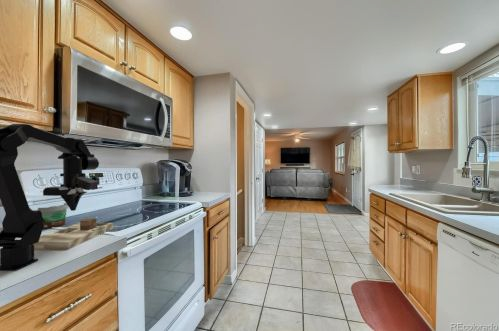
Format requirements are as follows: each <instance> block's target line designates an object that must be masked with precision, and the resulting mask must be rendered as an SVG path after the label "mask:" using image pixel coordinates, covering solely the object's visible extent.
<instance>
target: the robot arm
mask: <svg viewBox="0 0 499 331" xmlns="http://www.w3.org/2000/svg"><path fill="white" fill-rule="evenodd" d="M27 140H29V141H32V142H36V143H39V144H43V145H46V146H50V147H53V148H55V150H56V151H58V152H60V153H62V154H60V155H58V156H57V159H59V160H62V168H63V169H62V171H63V173H60V175H59V176H60V177H63V178H62V180H63V181H62V182H63V183H61V184H59V186H47V187H45V188H43V191H42V195H43V196H45V197H46V196H51V197H53V196H54V197H55V196H56V197H57V196H58V197H59V196H60V197H61V199H62V200H63V201H64V203H66V204H67V205H68V209H70V211H76V209H77V207H78V205H79V202H80V200H81V198H82V196H84V195H85V194H88V191H91V190H92V191H94V190H98V186H100V177H98V176H91V177H87V176H86V175H87V174H86V173H85V172H83V171H93V170H96V169H97V168H99V167H100V166H99V165H100V161H99V160H98V158H96V157H95V154H93V153H91V152H90V150H89V148H88V147H87V145H86V143H85V141H84V140H83V139H82V138H77V137H66V136H62V135H59V134H56V133H52V132H50V131H47V130H44V129H41V128H38V127H35V126H33V125H32V124H28V123H12V124H9V125H7V126H4V127H3V128H0V202H1V205H2V207H3V210H4V213H5V215H4V217H3V219H2V222H1V225H2V230H1V231H0V271H17V270H20V269H22V268H24V267H26V266H28V265H31V264H33V263H34V262H37V261H39V258H35V249H34V245H33V244H35V243H37V242H39V239H40V236H42V232H43V230H44V229H43V228H44V223H43V222H45V220H44V219H43V218H42V213H41V211H40V210H35V209H34V210H33V209H32V208H30V206H29V202H28V200H27V198H26V194H25V191H24V189H23V186H22V182H21V179H20V177H19V174H18V171H17V169H16V166H15V165H16V164H15V162H16V161H17V158H18V155H19V152H18V147H21V146H22V145H24V144H25V143H26V142H27ZM84 190H85V191H84Z"/></svg>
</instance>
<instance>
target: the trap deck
mask: <svg viewBox="0 0 499 331" xmlns="http://www.w3.org/2000/svg"><path fill="white" fill-rule="evenodd" d="M113 229H114V222H97V227H96V228H93V229H91V230H80V222H77V223H75V224H72V225H69V226H66V227H63V228H60V229H58V230H55V231H52V232H48V233H45V234H41V236H40V239H39V242H37V243H35V244H33V245H34V250H35V249H37V250H43V249H44V250H71V249H72V248H74V247H76V246H78V245H81V244H83V243H85V242H88V241H89V239H90V240H91V238H92V239H94V238H96V237H98V236H100V235H102V234H104V233H103V232H105V233H106V232H108V231H111V230H113ZM101 233H102V234H101ZM99 234H100V235H99ZM97 235H98V236H97ZM95 236H96V237H95ZM93 237H94V238H93Z"/></svg>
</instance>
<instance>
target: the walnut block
mask: <svg viewBox="0 0 499 331" xmlns="http://www.w3.org/2000/svg"><path fill="white" fill-rule="evenodd" d="M97 219H98V218H97V217H86V218H83V219H81V220H79V223H80V230H91V229H93V228H96V227H97V223H98V222H97V221H98V220H97Z"/></svg>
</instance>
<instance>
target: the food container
mask: <svg viewBox="0 0 499 331" xmlns="http://www.w3.org/2000/svg"><path fill="white" fill-rule="evenodd" d="M68 209H69V207H68V205H67V204H66V202H64V203H63V204H62V205H52V206H49V207H38V208H37V210H40V211H41V213H42V218H43V219H44V220H45V222H43V223H44V228H43V230H46V228H49V229H53V228H52V227H56V228H59V227H63V226H65V225H66V220H67V219H66V218H67V210H68Z"/></svg>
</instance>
